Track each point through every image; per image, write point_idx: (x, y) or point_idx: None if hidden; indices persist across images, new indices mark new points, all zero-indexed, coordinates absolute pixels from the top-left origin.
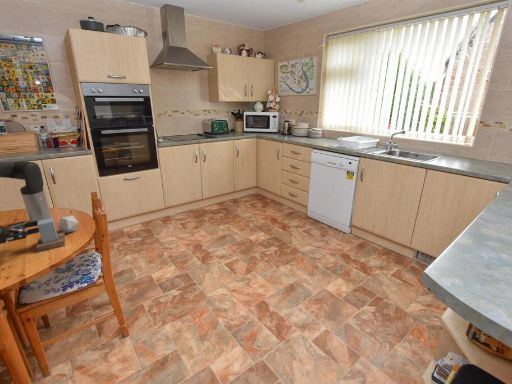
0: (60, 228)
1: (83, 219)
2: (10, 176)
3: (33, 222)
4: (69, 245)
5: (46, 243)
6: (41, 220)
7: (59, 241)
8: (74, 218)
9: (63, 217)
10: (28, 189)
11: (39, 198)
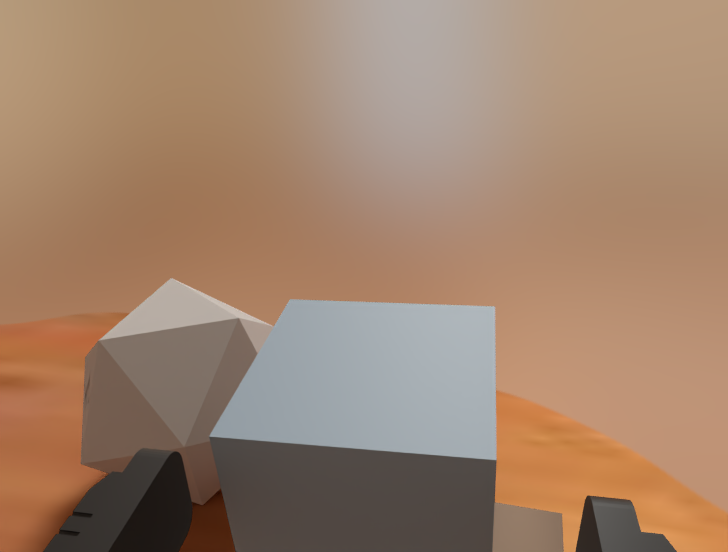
0: (204, 456)
1: (64, 348)
2: None
3: (136, 518)
4: (576, 528)
5: None
6: (249, 394)
7: (546, 549)
8: (218, 300)
9: (135, 324)
10: None
11: None
